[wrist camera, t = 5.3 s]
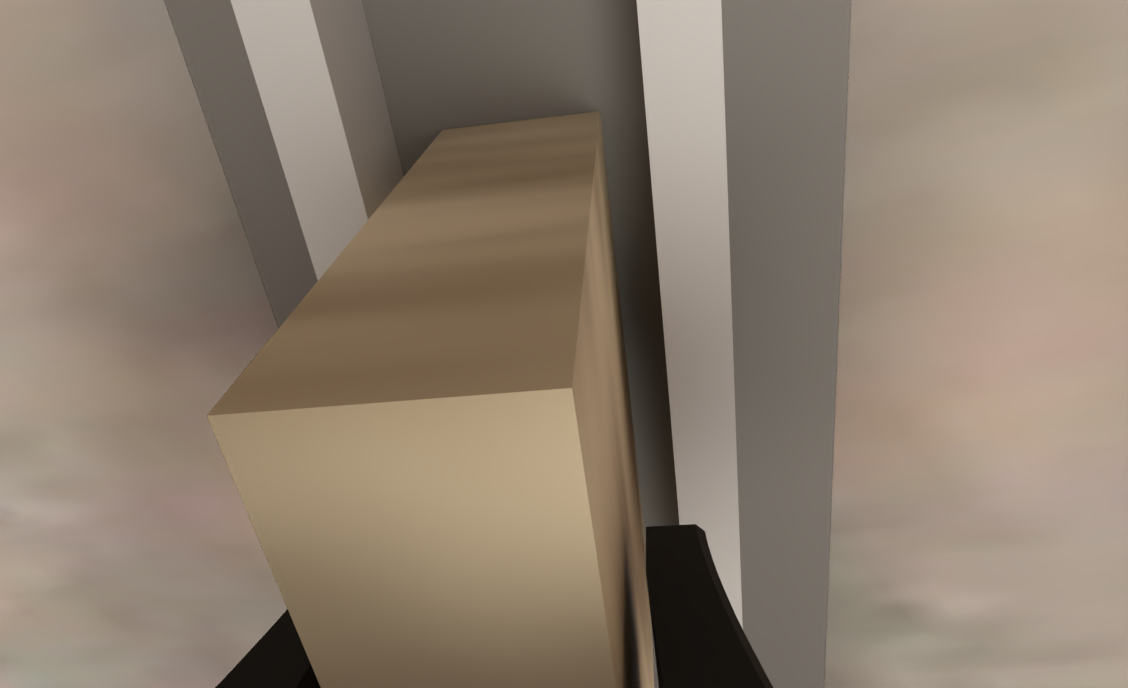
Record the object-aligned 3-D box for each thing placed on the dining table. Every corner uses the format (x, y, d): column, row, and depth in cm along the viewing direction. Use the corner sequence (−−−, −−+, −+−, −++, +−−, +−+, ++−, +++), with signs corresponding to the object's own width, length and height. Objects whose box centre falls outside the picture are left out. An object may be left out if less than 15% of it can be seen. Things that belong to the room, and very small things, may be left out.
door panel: (649, 581, 17) (671, 1062, 10) (535, 587, 17) (476, 1057, 10) (599, 111, 12) (571, 387, 5) (442, 129, 12) (205, 416, 5)
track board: (812, 737, 20) (862, 962, 16) (443, 743, 22) (396, 953, 17) (851, -569, 9) (1062, -1022, 5) (69, -393, 10) (-344, -619, 6)
